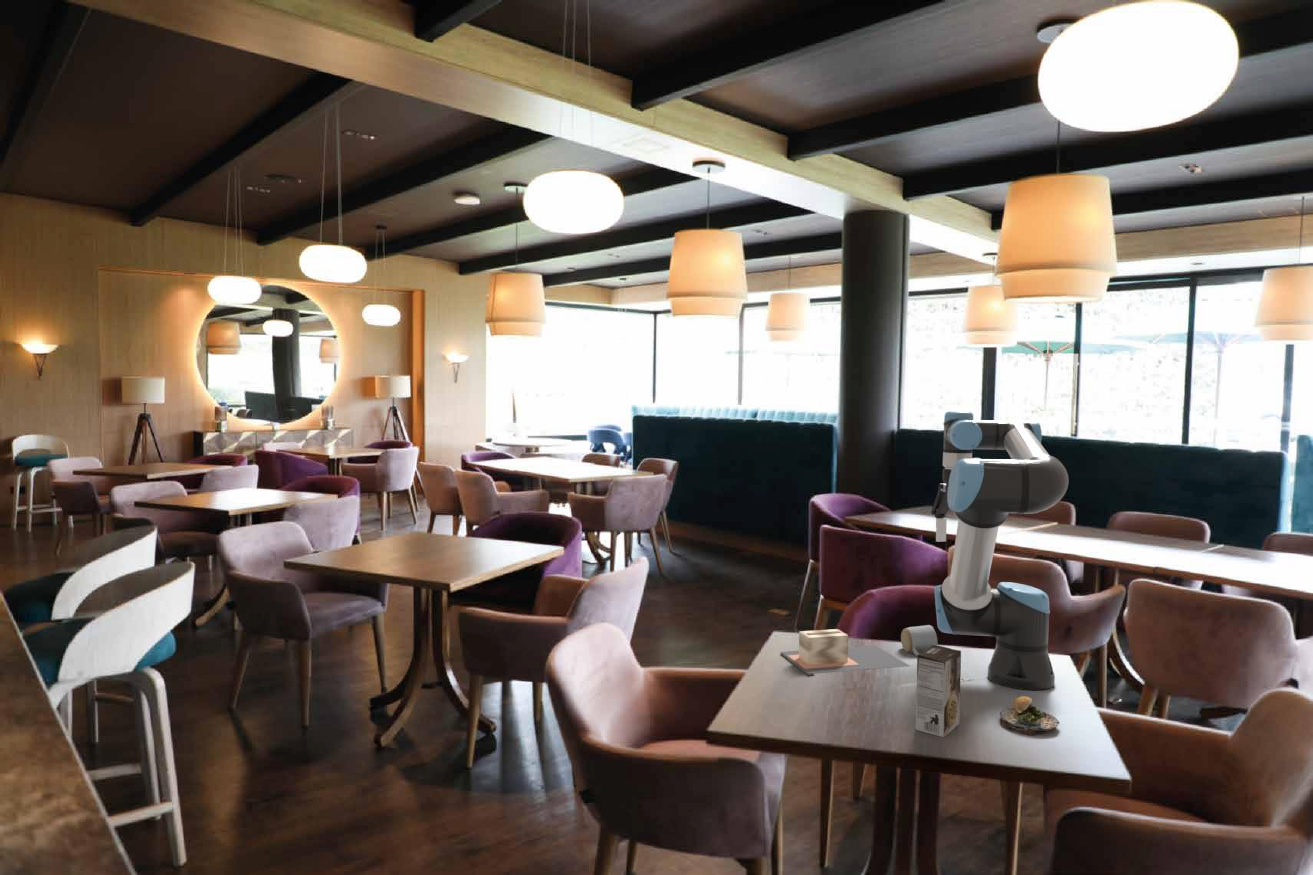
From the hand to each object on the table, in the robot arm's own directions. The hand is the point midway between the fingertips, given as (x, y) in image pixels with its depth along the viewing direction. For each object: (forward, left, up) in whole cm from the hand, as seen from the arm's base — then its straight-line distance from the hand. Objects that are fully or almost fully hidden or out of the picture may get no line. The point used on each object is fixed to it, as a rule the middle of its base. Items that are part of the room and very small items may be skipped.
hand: (955, 545), depth 233 cm
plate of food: (-51, +15, -29) cm, 61 cm away
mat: (-3, +34, -29) cm, 45 cm away
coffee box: (-48, +35, -29) cm, 66 cm away
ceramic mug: (-2, +11, -29) cm, 31 cm away
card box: (-3, +40, -28) cm, 49 cm away
